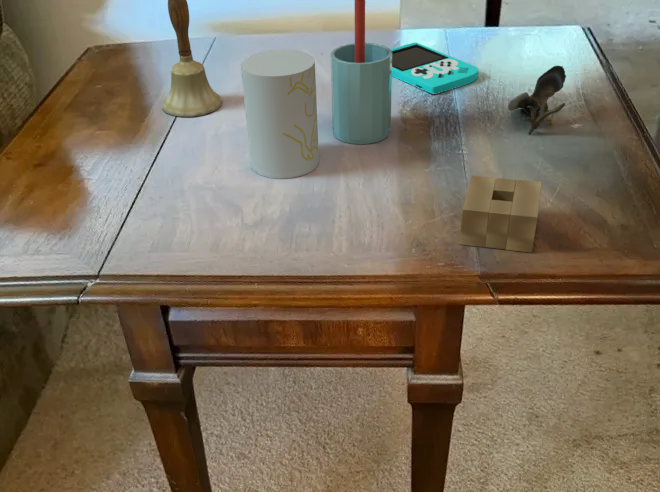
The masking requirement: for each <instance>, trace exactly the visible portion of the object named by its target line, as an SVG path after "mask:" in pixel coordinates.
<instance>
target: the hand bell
mask: <svg viewBox="0 0 660 492" xmlns="http://www.w3.org/2000/svg"><path fill="white" fill-rule="evenodd" d="M189 10H190V9H189V5H188V1H187V0H167V12H168V16H169V21H170V24H171V25H172V28H173V30H174V32H175V35H176V41H177V42H176V43H177V50H178V57H179V61H178V62H176V63H175V64H174V65H172V66H171V68H170V88H169V92H168V95H167V96H166V97H165V98H164V100H163V102H162V107H161V108H162V110H163V112H164V113H166V114H168V115H171V116H173V117H178V118H179V117H180V118H194V117H196V118H197V117H200V116H201V117H202V116H206V115H208V114H212V113H213V112H216V111H217V110H219V109H220V108H221V106H222V104H223V99H222V97H221V96H220V94H219V93H217V92H216V91H215V90H214V89H213V88H212V86H211V85H210V83H209V80H208V77H207V74H206V70H205V69H206V68H205V66H204V65H203V63H202V62H199V61H197V60H194V57H193V54H192V48H191V43H190V37H189V28H190V11H189Z"/></svg>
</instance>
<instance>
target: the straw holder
mask: <svg viewBox="0 0 660 492" xmlns="http://www.w3.org/2000/svg"><path fill="white" fill-rule="evenodd" d="M542 186H543V185H542V181H533V180H522V179H510V178H499V177H492V176H491V177H490V176H480V175H471V176H470V180H469V184H468V187H467V190H466V195H465V199H464V202H463V204H462V205H463V206H462V209H461V222H460V231H459V243H458V245H462V246H470V247H479V248H488V249H489V248H490V249H497V250H506V251H513V252H514V251H515V252H522V253H531V254H532V253H533V249H534V242H535V236H536V231H537V226H538V225H537V224H538V219H539V210H540V201H541V193H542Z"/></svg>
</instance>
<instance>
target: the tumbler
mask: <svg viewBox="0 0 660 492" xmlns="http://www.w3.org/2000/svg"><path fill="white" fill-rule="evenodd" d="M390 49H391V48H390V47H387V46H386V45H384V44H379V43H373V42H365V63H355V42H354V43H348V44H343V45H340V46H338V47H336V48H334V49H332V51H331V52H330V77H331V78H330V81H331V82H330V83H331V84H330V85H331V114H332V115H331V116H332V117H331V118H332V133H333V136H334V137H335V139H337V140H339V141H341V142H344V143H347V144H352V145H368V144H369V145H370V144H375V143H377V142H381V141H383V140H385V139H386V138H387V137H389V136H390V135H391V128H392V127H391V126H392V89H393V88H392V87H393V84H392V82H393V80H392V79H393V76H392V52H391V50H390Z"/></svg>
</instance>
